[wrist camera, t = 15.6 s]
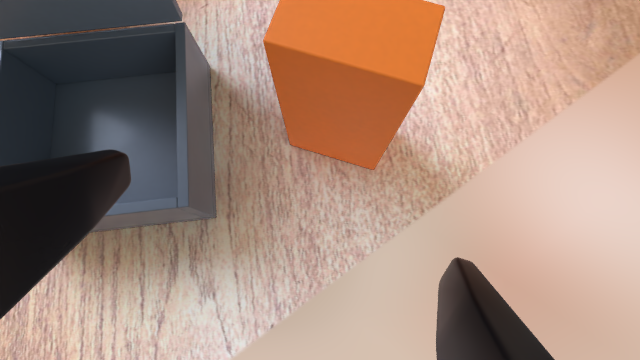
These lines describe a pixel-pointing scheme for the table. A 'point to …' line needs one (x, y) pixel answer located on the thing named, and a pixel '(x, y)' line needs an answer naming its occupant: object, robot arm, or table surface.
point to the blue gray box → (117, 114)
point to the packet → (349, 71)
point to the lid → (81, 15)
